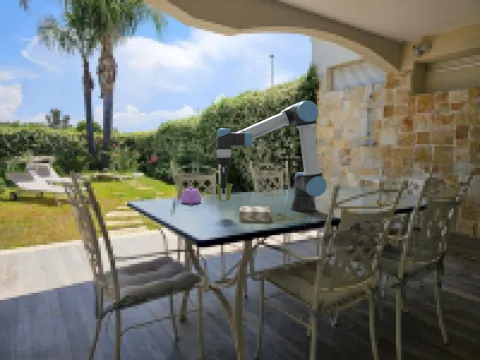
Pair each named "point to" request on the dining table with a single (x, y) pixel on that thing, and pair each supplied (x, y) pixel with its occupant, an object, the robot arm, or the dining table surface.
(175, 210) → the dining table surface
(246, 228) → the dining table surface
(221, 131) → the robot arm
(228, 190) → the plant pot
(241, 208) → the birch pedestal block
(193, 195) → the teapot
